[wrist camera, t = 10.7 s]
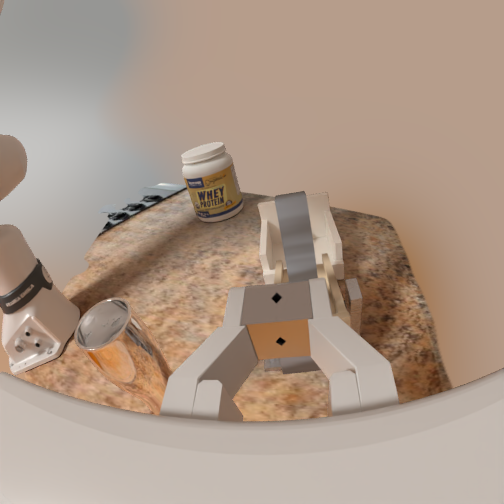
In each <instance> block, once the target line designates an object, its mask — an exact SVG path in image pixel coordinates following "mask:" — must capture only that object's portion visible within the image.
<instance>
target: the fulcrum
mask: <svg viewBox="0 0 504 504" xmlns="http://www.w3.org/2000/svg"><path fill="white" fill-rule="evenodd" d="M362 300H363V298H362V294H361V291H360V288H359V285H358V282H357V279H356V278H353V279H347V280H345V303H346V310H347V311H349V315H350V327H351V328H352V329H353V330H354V331H355V332H356V333H357V334H358V335H360V327H361V315H362ZM264 368H265V371H278V370H282V366H281V362H280V358H275V359H265V366H264Z"/></svg>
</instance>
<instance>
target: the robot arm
mask: <svg viewBox="0 0 504 504" xmlns="http://www.w3.org/2000/svg"><path fill="white" fill-rule="evenodd" d="M3 4H4V0H0V14H1V11H2V7H3ZM26 170H27V156H26V152H25V149H24V147H23V146H22V144H21V143H20V142H19V141H18V140H17V139H16V138H15V137H13V136H10V135H0V201H1V200H2V199H3V198H5V197H6V196H7V195H8V194H9V193H10V192H11V191H12V190H13V189H14V188H15V187H16V186H17V185H18V184H19V183H20V182H21V181H22V180H23V179H24V177H25V174H26ZM0 307H1V308H2V310H3V313H4V316H3V325H2V344H3V347H4V349H5V351H6V352H7V354H8V355H9V365H10V369H11V371H12V372H13V374H14V375H18V374H20V373H23V372H25V371H27V370H30V369H32V368H34V367H37V366H39V365H41V364H44V363H46V362H48V361H51V360H53V359H55V358H57V357H59V356H60V354H61V352H62V350H63V348H64V346H65V343H66V342H67V341H68V339H69V338H70V337H71V335H72V334H73V332H74V331H75V329H76V327H77V324H78V322H79V318H80V310H79V308H78V307H77V306H76V305H74V304H73V303H72V302H70V301H69V300H68V299H67V298H66V297H65V296H64V295H63V294H62V293H61V292H60V291H59V290H58V289H57V287H56V286H55V285H54V284H53V281H52V279H51V277H50V275H49V274H48V272H47V270H46V269H45V267H44V266H43V265H42V264H41V262H40V260H39V259H37V258H35V256H34V254H33V253H32V251H31V249H30V247H29V246H28V244H27V242H26V240H25V239H24V237H23V235H22V233H21V231H20V230H19V229H18V228H17V227H15V226H13V225H0ZM301 356H311V358H312V359H313V360H314V361H315V363H316V364H317V365H318V366H319V368H320V369H321V370H322V371H323V373H324V374H325V375H326V376H327V378H328V379H329V380H330V381H329V396H328V408H327V415H328V417H322V418H312V419H301V420H285V421H243V415H242V413H241V412H240V410H239V409H238V407H237V406H236V404H235V403H234V401H233V400H232V399H233V397H234V396H235V394H236V393H237V392H238V390H239V389H240V387H241V386H242V384H243V383H244V382H245V380H246V379H247V377H248V376H249V374H250V373H251V371H252V370H253V369H254V367H255V366H256V364H257V363H258V360H264V359H275V358H286V357H301ZM0 504H504V368H502V369H501V370H498V371H496V372H494V373H491V374H489V375H487V376H484V377H482V378H479V379H477V380H474V381H472V382H469V383H467V384H464V385H461V386H459V387H456V388H453V389H450V390H447V391H444V392H441V393H438V394H434V395H431V396H428V397H424V398H421V399H417V400H413V401H410V402H406V403H402V404H399V399H398V394H397V390H396V385H395V381H394V377H393V373H392V369H391V365H390V362H389V361H388V360H387V359H386V358H384V357H383V356H382V355H381V354H380V353H379V352H378V351H377V350H375V349H374V348H373V347H372V346H371V345H370V344H369V343H368V342H366V341H365V340H364V339H363V338H362V337H361V336H360V335H358V334H357V333H356V332H355V331H354V330H353V329H352V328H351V327H349V326H348V325H347V324H346V323H345V322H344V321H343V320H342V319H340V318H339V317H338V316H333V315H332V310H331V304H330V299H329V294H328V289H327V284H326V279H325V278H324V277H322V278H315V279H309V281H308V280H302V281H294V282H286V283H277V284H267V285H255V286H246V287H233V288H231V289H230V290H229V293H228V299H227V304H226V310H225V316H224V321H223V327H218V328H217V329H216V330H215V331H214V332H213V333H212V334H211V335H210V336H209V337H208V338H207V339H206V340H205V341H204V342H203V343H202V344H201V345H200V346H199V347H198V348H197V349H196V350H195V351H194V352H193V353H192V354H191V355H190V356H189V357H188V358H187V359H186V361H185V362H184V363H183V364H182V365H181V366H180V367H179V368H178V369H177V370H176V371H175V372H174V373H173V374H172V375H171V376H170V377H169V379H168V382H167V386H166V390H165V394H164V398H163V402H162V405H161V409H160V413H159V415H154V414H147V413H141V412H135V411H130V410H124V409H119V408H115V407H110V406H106V405H101V404H97V403H93V402H89V401H85V400H82V399H78V398H75V397H71V396H68V395H65V394H61V393H58V392H55V391H52V390H49V389H46V388H43V387H41V386H38V385H35V384H33V383H30V382H27V381H25V380H22V379H20V378H17V377H15V376H13V375H11V374H8V373H6V372H0Z"/></svg>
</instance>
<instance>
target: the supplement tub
mask: <svg viewBox="0 0 504 504" xmlns="http://www.w3.org/2000/svg"><path fill="white" fill-rule="evenodd" d="M225 150H226V148H225V146H224V143H223V142H215V143H210V144H205V145H202V146H199V147H196V148H194V149H191V150H189V151H187V152H185V153H183V154H182V156H181V158H182V163H184V164H185V165H184V167H183V169H182V173H183V177H184V180H185V183H186V186H187V189H188V191H189V194H190V197H191V200H192V203H193V206H194V209H195V212H196V215H197V217H198V218H199V219H200V220H202V221H204V222H218V221H222V220H226V219H228V218H231V217H233V216H234V215H236V214H237V213H238V212H239V211H240V210H241V209H242V208H243V199H242V195H241V192H240V188H239V184H238V181H237V177H236V173H235V169H234V165H233V161H232V158H231V156H230V155H229V154H228V153H226V152H225Z"/></svg>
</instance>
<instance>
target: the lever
mask: <svg viewBox="0 0 504 504" xmlns="http://www.w3.org/2000/svg"><path fill="white" fill-rule="evenodd" d="M275 206H276V211H277V217H278V222H279V227H280V233H281V238H282V244H283V250H284V255H285V261H286V267H287V269H284V268H283V262H282V260H278V261H276V268H275V278H274V284H277V283H286V282H294V281H302V280H308V281H309V279H315V278H322V277H324V278H325V279H326V284H327V289H328V294H329V299H330V304H331V310H332V315H333V316H338V317H339V318H340V319H342V320H343V321H344V322H345V323H346V324H347V325H348V326H349V327H350V315H349V311H347V310H346V303H345V300H344V301H343V297H342V294H341V291H340V288H339V285H338V282H337V279H336V276H335V273H334V271H333V268H332V265H331V262H330V259H329V256H328V253H325V254H322V262H323V264H316V259H315V251H314V244H313V237H312V230H311V223H310V216H309V210H308V204H307V197H306V194H305V192H304V191H302V192H296V193H290V194H284V195H278V196H276V197H275ZM280 362H281V366H282V371H283V374H290V373H300V372H309V371H317V370H321V369H320V368H319V366H318V365H317V364H316V363H315V361H314V360H313V359H312V358H311V356H301V357H286V358H280Z"/></svg>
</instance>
